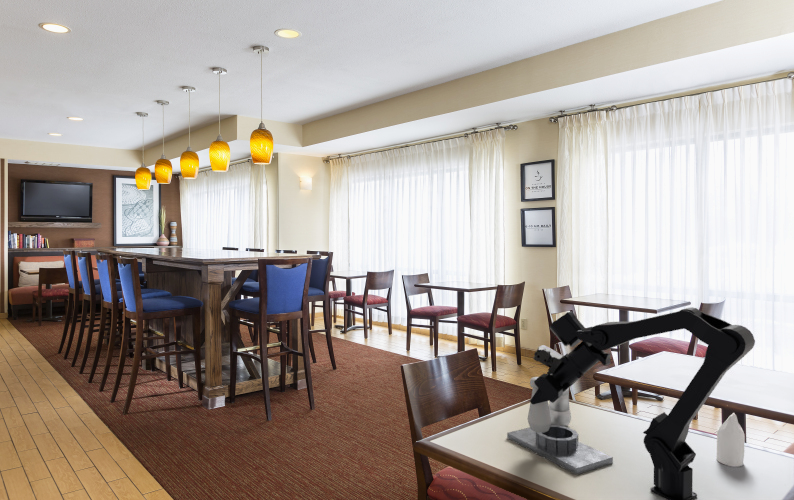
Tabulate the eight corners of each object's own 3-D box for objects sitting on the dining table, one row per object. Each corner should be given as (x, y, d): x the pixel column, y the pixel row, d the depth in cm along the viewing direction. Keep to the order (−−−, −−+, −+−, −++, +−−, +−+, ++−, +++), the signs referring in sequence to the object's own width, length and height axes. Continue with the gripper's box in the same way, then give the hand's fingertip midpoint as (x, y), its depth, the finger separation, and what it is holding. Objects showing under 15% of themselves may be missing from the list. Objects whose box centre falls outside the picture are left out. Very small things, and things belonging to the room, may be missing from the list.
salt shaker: (552, 434, 125) (552, 381, 124) (528, 433, 126) (527, 380, 125) (550, 425, 130) (549, 375, 130) (527, 424, 131) (526, 374, 131)
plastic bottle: (547, 428, 144) (547, 358, 144) (547, 420, 151) (547, 352, 150) (571, 430, 143) (571, 359, 142) (570, 422, 149) (570, 353, 148)
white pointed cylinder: (716, 406, 126) (744, 410, 123) (716, 454, 126) (743, 459, 124) (717, 413, 121) (745, 417, 118) (716, 463, 121) (745, 469, 118)
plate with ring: (612, 463, 122) (612, 444, 122) (576, 474, 117) (576, 455, 117) (540, 429, 143) (540, 414, 143) (507, 438, 138) (507, 421, 138)
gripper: (564, 329, 133) (524, 367, 139) (542, 342, 118) (497, 384, 124) (596, 363, 129) (553, 400, 135) (578, 381, 113) (530, 422, 120)
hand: (533, 400), depth 129 cm, fingers closed on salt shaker, 3 cm apart
